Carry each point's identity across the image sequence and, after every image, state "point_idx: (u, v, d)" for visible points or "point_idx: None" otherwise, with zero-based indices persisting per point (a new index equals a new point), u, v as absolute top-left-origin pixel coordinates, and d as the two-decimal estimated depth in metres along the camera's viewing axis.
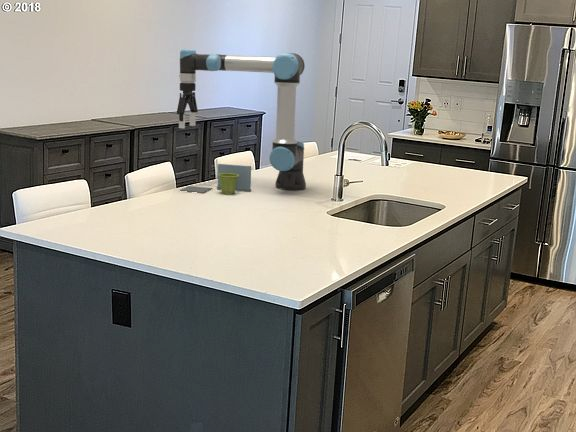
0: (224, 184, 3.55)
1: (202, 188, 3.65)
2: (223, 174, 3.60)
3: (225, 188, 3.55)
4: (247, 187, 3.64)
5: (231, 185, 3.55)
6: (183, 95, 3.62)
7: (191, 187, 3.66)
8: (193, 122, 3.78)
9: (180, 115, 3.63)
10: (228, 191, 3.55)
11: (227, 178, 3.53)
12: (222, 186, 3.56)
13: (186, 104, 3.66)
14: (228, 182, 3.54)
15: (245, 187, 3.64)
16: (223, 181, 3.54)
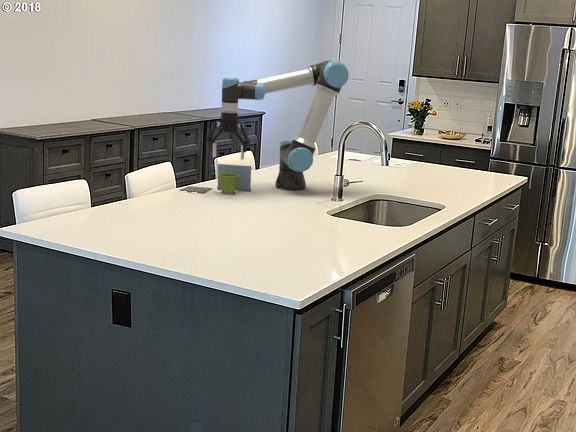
0: (224, 184, 3.55)
1: (202, 188, 3.65)
2: (223, 174, 3.60)
3: (225, 188, 3.55)
4: (247, 187, 3.64)
5: (231, 185, 3.55)
6: None
7: (191, 187, 3.66)
8: None
9: None
10: (228, 191, 3.55)
11: (227, 178, 3.53)
12: (222, 186, 3.56)
13: (219, 133, 3.53)
14: (228, 182, 3.54)
15: (245, 187, 3.64)
16: (223, 181, 3.54)
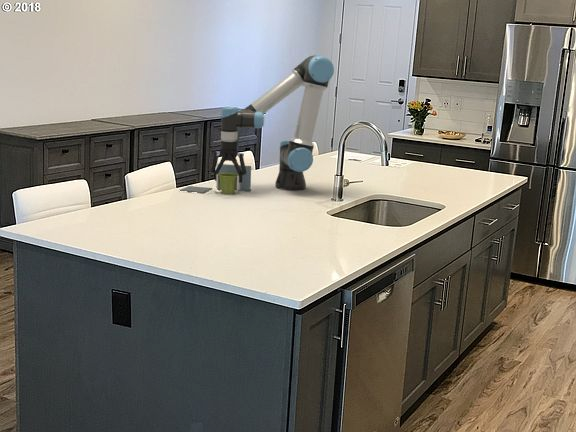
0: (224, 184, 3.55)
1: (202, 188, 3.65)
2: (223, 174, 3.60)
3: (225, 188, 3.55)
4: (247, 187, 3.64)
5: (231, 185, 3.55)
6: None
7: (191, 187, 3.66)
8: None
9: None
10: (228, 191, 3.55)
11: (227, 178, 3.53)
12: (222, 186, 3.56)
13: (221, 163, 3.56)
14: (228, 182, 3.54)
15: (245, 187, 3.64)
16: (223, 181, 3.54)
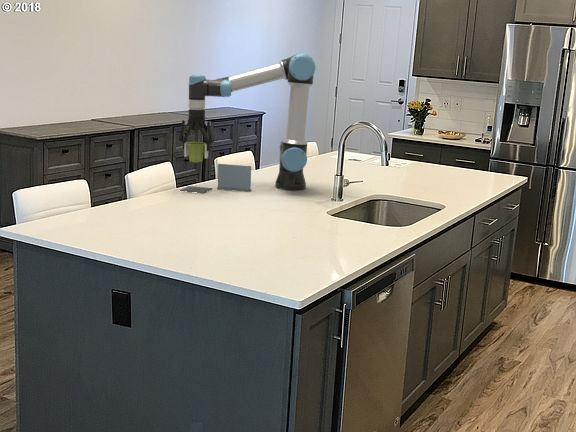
0: (192, 152, 3.56)
1: (202, 188, 3.65)
2: (191, 143, 3.61)
3: (193, 156, 3.56)
4: (247, 187, 3.64)
5: (199, 154, 3.56)
6: None
7: (191, 187, 3.66)
8: None
9: None
10: (196, 159, 3.56)
11: (195, 146, 3.54)
12: (190, 154, 3.57)
13: (188, 131, 3.57)
14: (196, 150, 3.55)
15: (245, 187, 3.64)
16: (191, 149, 3.55)
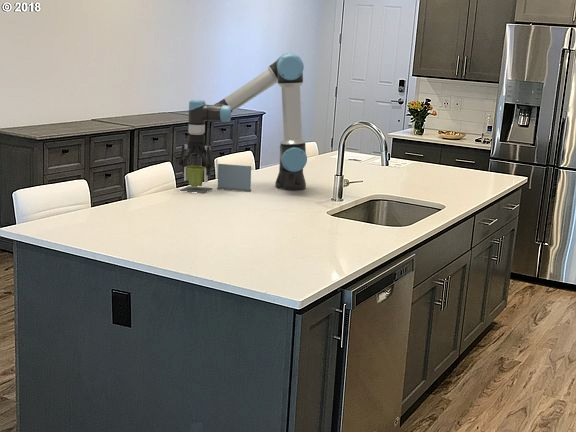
0: (191, 176, 3.58)
1: (202, 188, 3.65)
2: (191, 167, 3.64)
3: (192, 180, 3.58)
4: (247, 187, 3.64)
5: (199, 178, 3.58)
6: None
7: (191, 187, 3.66)
8: None
9: None
10: (196, 183, 3.59)
11: (194, 171, 3.56)
12: (189, 178, 3.59)
13: (188, 156, 3.59)
14: (195, 175, 3.57)
15: (245, 187, 3.64)
16: (190, 173, 3.58)
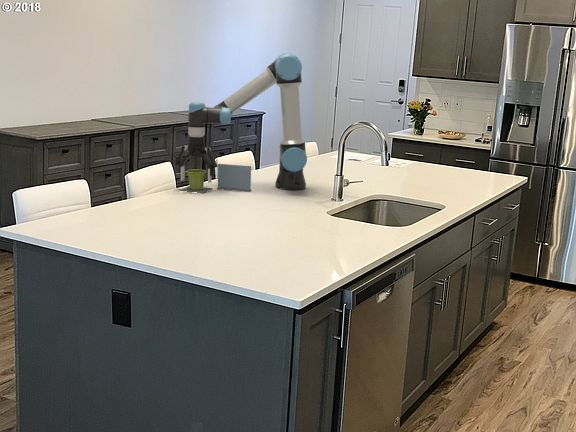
0: (192, 180, 3.58)
1: None
2: (191, 170, 3.64)
3: (193, 184, 3.59)
4: (247, 187, 3.64)
5: (199, 181, 3.59)
6: None
7: None
8: None
9: None
10: (196, 187, 3.59)
11: (195, 174, 3.57)
12: (190, 182, 3.60)
13: (187, 157, 3.59)
14: (196, 178, 3.58)
15: (245, 187, 3.64)
16: (191, 177, 3.58)
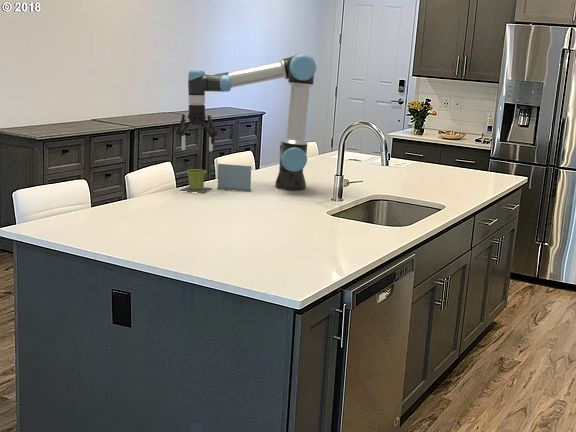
0: (192, 180, 3.58)
1: None
2: (191, 170, 3.64)
3: (193, 184, 3.59)
4: (247, 187, 3.64)
5: (199, 181, 3.59)
6: None
7: None
8: None
9: None
10: (196, 187, 3.59)
11: (195, 174, 3.57)
12: (190, 182, 3.60)
13: (187, 126, 3.56)
14: (196, 178, 3.58)
15: (245, 187, 3.64)
16: (191, 177, 3.58)
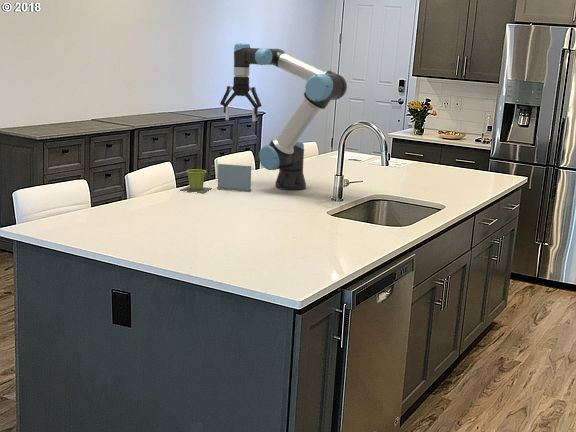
0: (192, 180, 3.58)
1: None
2: (191, 170, 3.64)
3: (193, 184, 3.59)
4: (247, 187, 3.64)
5: (199, 181, 3.59)
6: None
7: None
8: None
9: None
10: (196, 187, 3.59)
11: (195, 174, 3.57)
12: (190, 182, 3.60)
13: (231, 97, 3.71)
14: (196, 178, 3.58)
15: (245, 187, 3.64)
16: (191, 177, 3.58)
